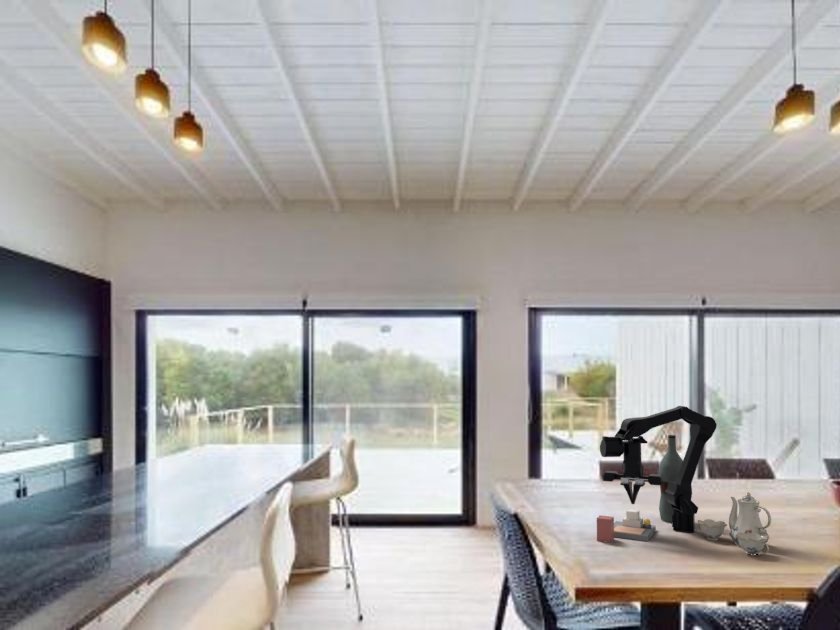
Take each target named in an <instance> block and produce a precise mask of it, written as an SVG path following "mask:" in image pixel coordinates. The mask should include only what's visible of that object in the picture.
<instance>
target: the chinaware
mask: <svg viewBox="0 0 840 630" xmlns="http://www.w3.org/2000/svg"><path fill="white" fill-rule="evenodd" d="M751 495H752V494H751V493H750V492H749V491H747V492H746V493H745V495H743V496H742V498H739V499H738V498H737V499H736V498H735V497H734V496H730V499H731V502H732V505H731V510H730V513H729V517H728V524H726V523H725V522H724V520H723V521H722V520H719V521H718V520H717V521H715V520H713V519H704V520H701V519H698V520H697V523H698V524H699V527H700V531H701V532H702V533H703V535H704V536H706V540H709V541H718V540H719V538H720V537H721V536H722V535H723V533H724V532H725V529H726V527H727V526H728V527H729V530H730V532H729V536H730V537H731V539H732V540H733V541H734V545H735V546H738V547H741V549H743V550H744V551H745V554H746V553H747V554H752V555H751V556H753V555H754V554H758V555H759V556H760V555H762V554H763V555H764V554H766V555H767V554H768V553H769V550H770V548H769V544H768V543H767V542H768V541H769V540H770V535H769V533H767V531H768V530H767V528H769V527H770V525H771V523H772V516H771V513H770V511H769V510H768V509H767V508H766V507H764V506H760V503H761V501H760V500H757V499H755V497H754V496H751ZM762 510H763V511H764V512H765V513H766V515H767V524H766V525H765V526H763V524H762V522H761V519H760V513H761V512H762ZM765 546H766V549H767V550H766V552H763V551H762V550H764V548H765ZM747 554H746V555H747Z"/></svg>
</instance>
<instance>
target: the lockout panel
mask: <svg viewBox="0 0 840 630" xmlns="http://www.w3.org/2000/svg"><path fill="white" fill-rule="evenodd" d="M655 531H657V529H656V525H654V524H653V525H652V524H651V519H649V518H644V517H641V516H640V520H639V521H638V520H629V519H626V515H625V517H623V519H622V521H618V520H616V521H614V538H620V539H629V540H636V541H645V542H648V541H649V540H650V539H651V537H652V535H653V534H654V533H655Z"/></svg>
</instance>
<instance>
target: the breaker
mask: <svg viewBox="0 0 840 630" xmlns="http://www.w3.org/2000/svg"><path fill="white" fill-rule="evenodd" d="M625 513H626V514H625V516H626V519H629V520H638V521H639V520H640V517H641V516H640V510H639V509H627V510H626V512H625Z"/></svg>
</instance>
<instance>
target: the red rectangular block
mask: <svg viewBox="0 0 840 630" xmlns="http://www.w3.org/2000/svg"><path fill="white" fill-rule="evenodd" d="M614 523H615V517H614V516H609V515H608V516H607V515H600V514H599V515H598V517H597V518H596V542H603V541H606V542H605V543H613V541H614V540H615V537H614Z"/></svg>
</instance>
